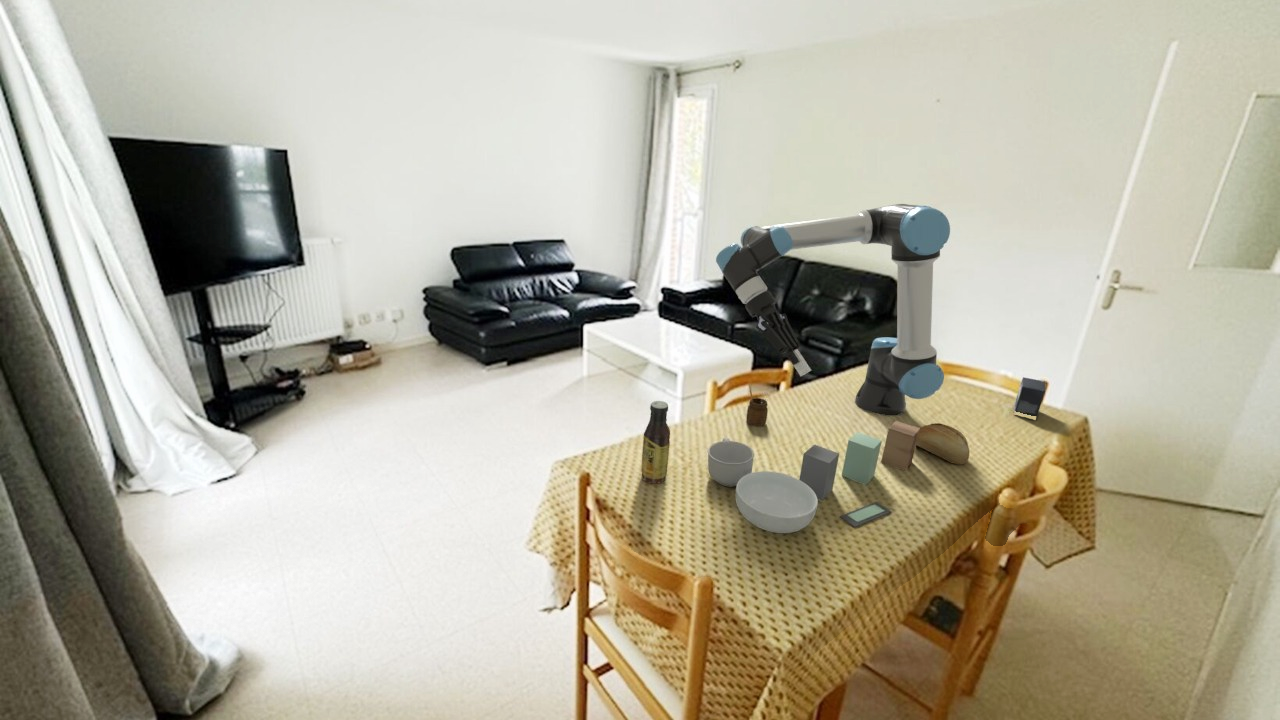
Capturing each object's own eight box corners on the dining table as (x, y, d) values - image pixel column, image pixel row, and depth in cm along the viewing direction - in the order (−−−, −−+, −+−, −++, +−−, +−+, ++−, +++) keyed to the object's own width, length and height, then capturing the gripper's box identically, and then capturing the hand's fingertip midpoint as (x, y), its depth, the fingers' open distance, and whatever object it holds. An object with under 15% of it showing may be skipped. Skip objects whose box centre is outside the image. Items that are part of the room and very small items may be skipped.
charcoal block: (808, 480, 128) (814, 444, 124) (832, 490, 124) (839, 453, 121) (797, 490, 123) (803, 453, 120) (822, 501, 120) (829, 463, 116)
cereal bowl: (763, 554, 102) (767, 524, 100) (718, 506, 116) (721, 479, 114) (830, 534, 109) (835, 505, 106) (780, 491, 123) (784, 465, 121)
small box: (1013, 404, 177) (1022, 376, 173) (1036, 410, 173) (1046, 381, 170) (1012, 415, 169) (1021, 385, 165) (1036, 421, 165) (1046, 390, 162)
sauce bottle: (636, 473, 128) (640, 399, 121) (660, 469, 130) (664, 396, 123) (647, 488, 122) (651, 411, 115) (671, 482, 124) (676, 407, 118)
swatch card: (876, 503, 120) (876, 500, 120) (891, 512, 117) (891, 510, 116) (839, 517, 114) (840, 515, 114) (854, 528, 111) (855, 525, 111)
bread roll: (919, 438, 152) (926, 413, 149) (974, 460, 140) (982, 434, 138) (902, 446, 146) (908, 421, 143) (958, 471, 135) (965, 443, 132)
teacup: (750, 495, 121) (754, 465, 118) (703, 488, 123) (706, 458, 120) (750, 464, 134) (754, 437, 131) (708, 458, 136) (710, 431, 133)
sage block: (850, 466, 135) (857, 432, 131) (874, 475, 131) (881, 440, 128) (841, 475, 130) (848, 440, 127) (865, 485, 127) (873, 448, 123)
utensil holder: (768, 427, 154) (773, 390, 150) (746, 426, 154) (751, 389, 150) (764, 418, 159) (768, 382, 155) (743, 417, 159) (747, 381, 155)
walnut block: (888, 453, 142) (895, 420, 138) (911, 462, 138) (920, 428, 135) (881, 462, 137) (888, 428, 134) (905, 470, 134) (913, 436, 130)
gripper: (758, 301, 145) (805, 374, 141) (733, 309, 136) (783, 386, 131) (778, 286, 140) (828, 360, 136) (753, 292, 131) (806, 372, 126)
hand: (806, 373), depth 134 cm, fingers closed
